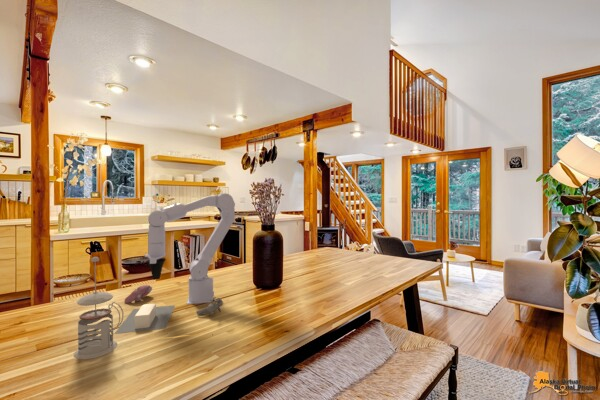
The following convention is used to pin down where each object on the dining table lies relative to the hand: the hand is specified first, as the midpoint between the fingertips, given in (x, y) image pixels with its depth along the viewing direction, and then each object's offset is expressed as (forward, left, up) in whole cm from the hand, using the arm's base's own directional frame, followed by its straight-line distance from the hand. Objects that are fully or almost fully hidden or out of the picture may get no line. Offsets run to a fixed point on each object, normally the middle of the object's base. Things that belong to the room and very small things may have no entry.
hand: (156, 279), depth 110 cm
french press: (+8, +30, -11) cm, 32 cm away
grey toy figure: (-20, +15, -11) cm, 27 cm away
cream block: (0, +10, -8) cm, 13 cm away
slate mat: (0, +12, -10) cm, 16 cm away
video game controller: (+8, -10, -11) cm, 16 cm away
